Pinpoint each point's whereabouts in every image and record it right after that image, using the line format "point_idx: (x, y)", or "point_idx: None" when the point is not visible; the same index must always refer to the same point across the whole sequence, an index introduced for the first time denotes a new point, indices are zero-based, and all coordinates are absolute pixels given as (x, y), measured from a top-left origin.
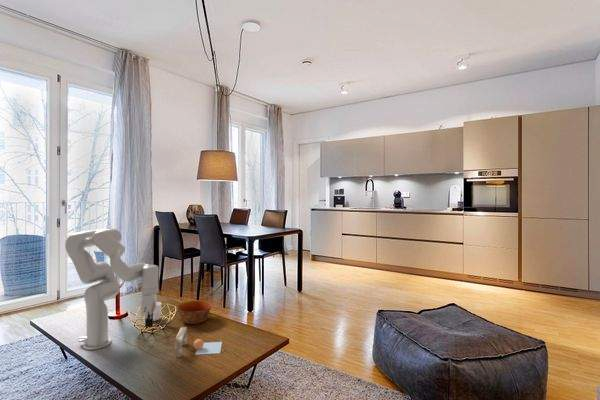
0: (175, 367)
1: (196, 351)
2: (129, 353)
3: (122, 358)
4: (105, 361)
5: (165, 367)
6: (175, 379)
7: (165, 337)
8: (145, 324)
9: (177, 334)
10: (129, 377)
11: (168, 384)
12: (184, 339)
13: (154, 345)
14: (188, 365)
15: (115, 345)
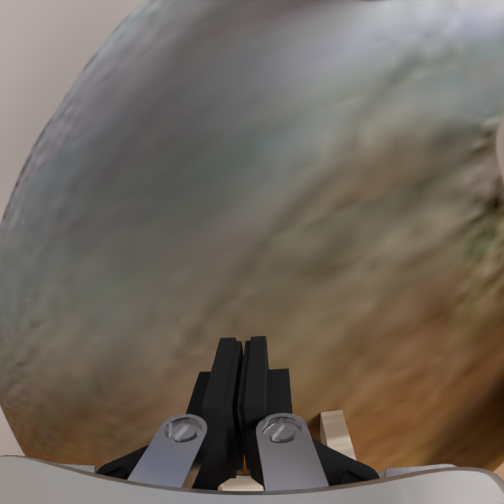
0: (112, 426)
1: (243, 477)
2: (233, 152)
3: (169, 138)
4: (141, 61)
5: (104, 394)
6: (52, 425)
7: (436, 305)
8: (217, 355)
9: (245, 489)
10: (20, 269)
11: (28, 408)
12: None
13: (340, 277)
14: None
15: (346, 24)
